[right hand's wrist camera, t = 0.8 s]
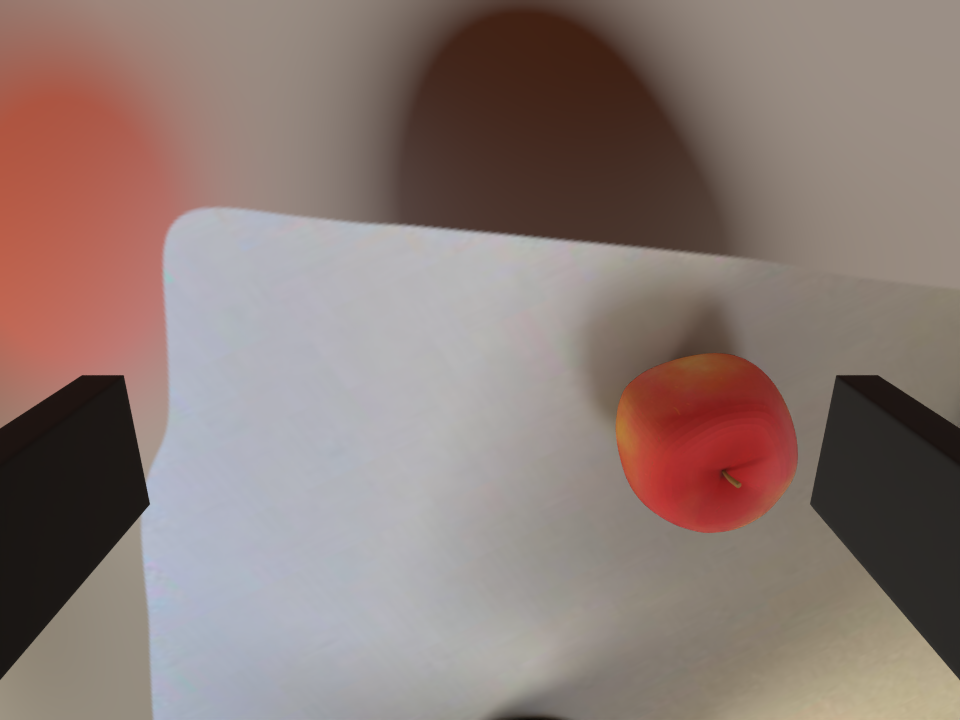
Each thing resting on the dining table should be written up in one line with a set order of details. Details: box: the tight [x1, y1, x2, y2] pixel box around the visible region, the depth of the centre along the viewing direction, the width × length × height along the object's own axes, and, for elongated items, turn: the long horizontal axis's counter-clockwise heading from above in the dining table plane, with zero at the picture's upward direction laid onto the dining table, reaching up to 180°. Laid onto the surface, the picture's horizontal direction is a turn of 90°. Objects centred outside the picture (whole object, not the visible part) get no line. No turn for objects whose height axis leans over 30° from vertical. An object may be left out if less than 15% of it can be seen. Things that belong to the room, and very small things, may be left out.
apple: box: [616, 353, 798, 533], centre depth 36 cm, size 10×10×10 cm
